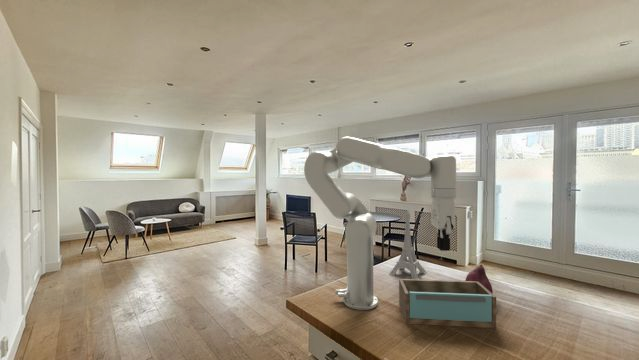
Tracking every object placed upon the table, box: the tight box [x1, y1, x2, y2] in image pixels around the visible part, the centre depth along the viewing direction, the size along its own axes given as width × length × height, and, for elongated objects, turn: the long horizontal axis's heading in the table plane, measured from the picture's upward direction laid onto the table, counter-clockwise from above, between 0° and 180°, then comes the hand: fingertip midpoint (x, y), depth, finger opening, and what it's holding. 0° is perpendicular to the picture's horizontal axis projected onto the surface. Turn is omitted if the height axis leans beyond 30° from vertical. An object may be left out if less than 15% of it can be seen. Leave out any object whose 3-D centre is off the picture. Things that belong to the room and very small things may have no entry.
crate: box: [398, 278, 497, 329], centre depth 90 cm, size 27×12×10 cm, turn 83°
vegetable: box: [464, 264, 494, 295], centre depth 101 cm, size 10×10×15 cm
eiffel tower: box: [388, 210, 428, 280], centre depth 128 cm, size 13×13×30 cm
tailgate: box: [409, 292, 492, 322], centre depth 84 cm, size 24×1×8 cm, turn 83°
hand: (443, 249), depth 89 cm, fingers closed
